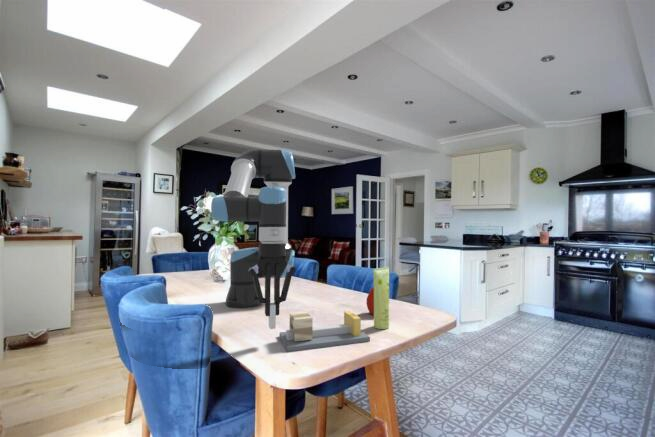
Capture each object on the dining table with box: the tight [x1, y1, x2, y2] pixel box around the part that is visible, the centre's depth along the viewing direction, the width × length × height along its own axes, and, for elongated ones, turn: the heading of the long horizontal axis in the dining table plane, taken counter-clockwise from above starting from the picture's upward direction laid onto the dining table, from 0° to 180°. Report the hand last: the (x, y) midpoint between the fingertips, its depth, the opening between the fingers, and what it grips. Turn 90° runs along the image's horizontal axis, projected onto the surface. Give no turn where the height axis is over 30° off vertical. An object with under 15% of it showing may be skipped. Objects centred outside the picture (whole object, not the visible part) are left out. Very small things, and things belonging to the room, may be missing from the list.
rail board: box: [279, 310, 371, 353], centre depth 93 cm, size 12×24×6 cm, turn 109°
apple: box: [366, 286, 374, 316], centre depth 118 cm, size 8×8×11 cm
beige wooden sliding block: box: [289, 310, 314, 342], centre depth 90 cm, size 7×5×6 cm
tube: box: [373, 266, 390, 330], centre depth 103 cm, size 6×5×20 cm
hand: (272, 327), depth 88 cm, fingers closed
